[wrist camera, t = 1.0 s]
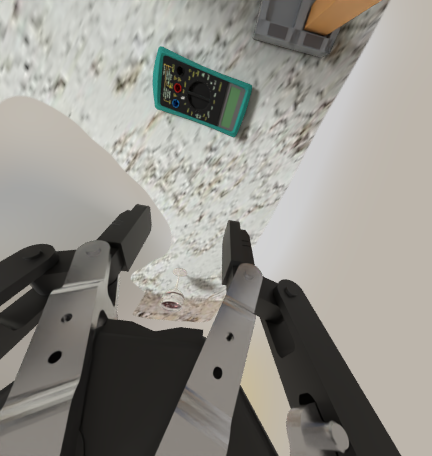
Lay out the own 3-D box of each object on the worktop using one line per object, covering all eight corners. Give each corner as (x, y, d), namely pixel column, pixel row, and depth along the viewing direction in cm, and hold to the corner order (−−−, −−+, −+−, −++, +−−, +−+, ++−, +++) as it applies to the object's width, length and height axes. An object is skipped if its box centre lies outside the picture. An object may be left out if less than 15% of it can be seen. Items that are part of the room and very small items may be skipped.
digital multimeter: (159, 47, 24) (152, 41, 21) (252, 86, 26) (255, 85, 24) (156, 106, 28) (149, 107, 26) (235, 136, 31) (236, 139, 28)
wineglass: (167, 266, 55) (156, 301, 46) (187, 265, 55) (179, 300, 45) (173, 278, 59) (163, 312, 50) (191, 277, 59) (185, 311, 49)
